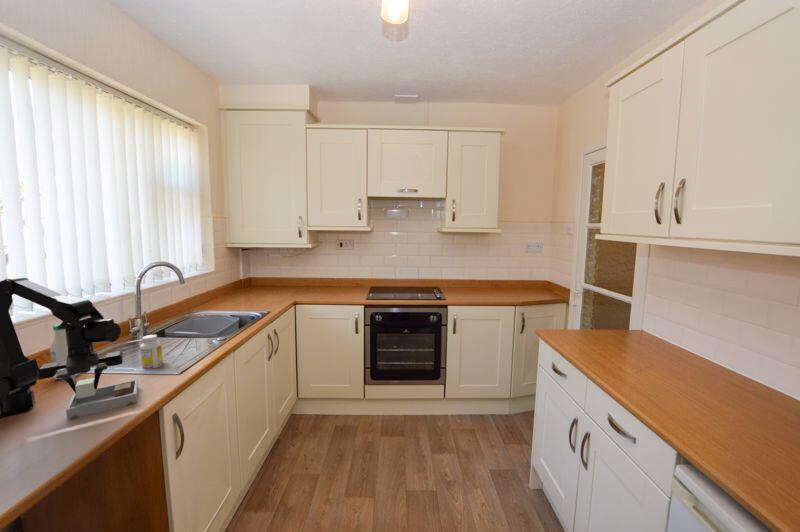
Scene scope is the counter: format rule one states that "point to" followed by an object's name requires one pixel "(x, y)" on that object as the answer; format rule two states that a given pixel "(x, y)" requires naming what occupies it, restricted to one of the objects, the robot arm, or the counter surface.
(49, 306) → the robot arm
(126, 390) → the walnut block
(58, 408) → the counter surface
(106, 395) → the grey shallow tray
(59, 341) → the milk bottle
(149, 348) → the supplement bottle
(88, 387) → the sage block
